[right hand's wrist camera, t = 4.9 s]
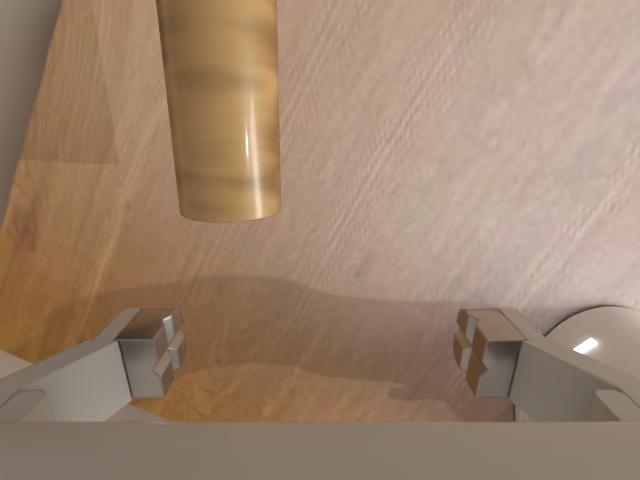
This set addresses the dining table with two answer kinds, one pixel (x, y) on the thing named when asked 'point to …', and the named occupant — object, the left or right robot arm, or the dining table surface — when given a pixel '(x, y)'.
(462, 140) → the dining table surface
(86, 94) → the dining table surface
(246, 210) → the rod
